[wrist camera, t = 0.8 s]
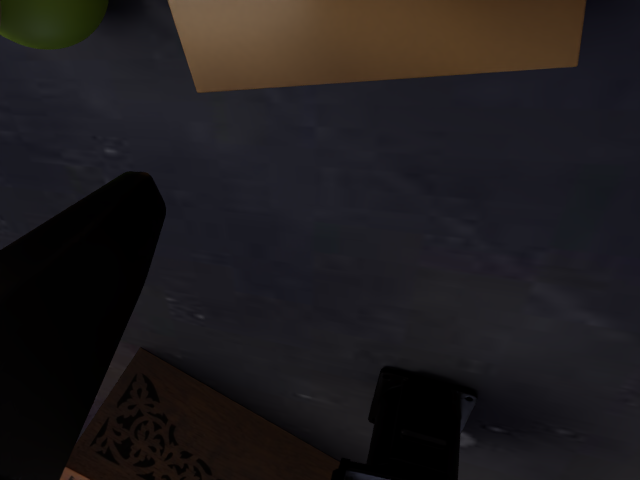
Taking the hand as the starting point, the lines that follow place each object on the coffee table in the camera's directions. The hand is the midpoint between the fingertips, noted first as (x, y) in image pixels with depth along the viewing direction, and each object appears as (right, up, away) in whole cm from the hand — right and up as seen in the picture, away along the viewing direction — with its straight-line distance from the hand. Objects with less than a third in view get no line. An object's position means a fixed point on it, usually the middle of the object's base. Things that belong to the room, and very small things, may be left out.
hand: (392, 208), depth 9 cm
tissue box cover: (-9, -20, +40) cm, 45 cm away
